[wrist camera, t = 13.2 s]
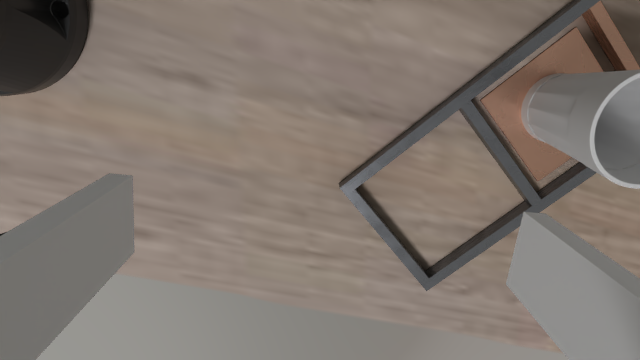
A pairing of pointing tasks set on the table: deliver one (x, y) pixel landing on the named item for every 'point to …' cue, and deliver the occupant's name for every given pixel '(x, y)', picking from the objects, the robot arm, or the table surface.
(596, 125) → the cup
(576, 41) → the two-slot metal tray
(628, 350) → the robot arm
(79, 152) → the table surface
